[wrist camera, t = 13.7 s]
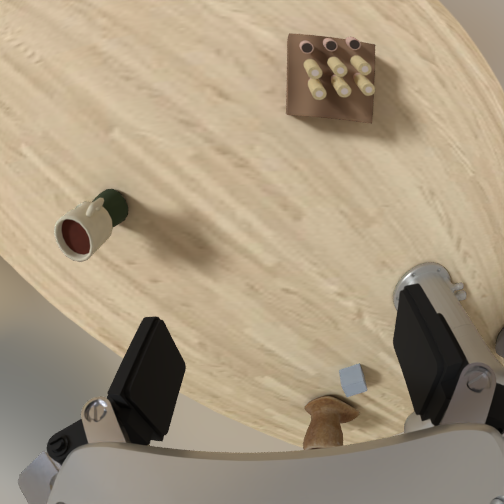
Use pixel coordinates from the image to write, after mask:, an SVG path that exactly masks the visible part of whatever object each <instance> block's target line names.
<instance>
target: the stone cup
mask: <svg viewBox="0 0 504 504" xmlns="http://www.w3.org/2000/svg"><path fill="white" fill-rule="evenodd" d="M305 410H306V411H307V412H308V413H309V414H310V415H311V422H310V425H309V427H308V429H307V432H306V435H305V438H304V442H303V448H304V450H311V449H321V448H329V447H337V446H343V433H342V430H341V426H340V423H346V422H349V421H351V420H353V419H355V418H356V417H357V416H358V415H359V413H360V412H359V411H358V410H356V409H355V408H353V407H351V406H350V405H348V404H346V403H345V402H343V401H341V400H339V399H337V398H335V397H331V396H323V397H320V398H317V399H314V400H312V401H311V402H309V403H308V404H307V405H306V406H305Z"/></svg>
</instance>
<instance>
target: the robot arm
mask: <svg viewBox="0 0 504 504" xmlns="http://www.w3.org/2000/svg"><path fill="white" fill-rule="evenodd" d="M461 289H463V283H462V282H460V283H456V284H453V283H451V282H450V276H449V274H448V272H447V270H446V269H445V268H444V267H443V266H442V265H440V264H438V263H434V262H428V263H423V264H420V265H417V266H415V267H414V268H412V269H410V270H409V271H408V272H407V273H406V274H405V275H404V276H403V277H402V278H401V279H400V280H399V282H398V284H397V285H396V287H395V290H394V294H393V302H394V306H395V308H396V310H397V318H396V325H395V331H394V338H393V345H394V349H395V352H396V355H397V357H398V360H399V363H400V366H401V369H402V372H403V375H404V378H405V381H406V384H407V388H408V391H409V394H410V397H411V401H412V404H413V407H414V412H413V413H411V414H410V415H409V416H408V418H407V419H406V421H405V424H404V434H401V435H397V436H392V437H387V438H382V439H377V440H372V441H367V442H362V443H356V444H350V445H344V446H337V447H329V448H321V449H311V450H301V451H288V452H267V453H265V452H264V453H228V452H205V451H190V450H179V449H170V448H162V447H153V446H150V445H149V444H150V440H155V441H163V437H164V435H166V434H167V433H168V430H169V426H170V423H171V419H172V415H173V412H174V408H175V404H176V401H177V397H178V394H179V390H180V387H181V383H182V380H183V376H184V373H185V369H186V366H185V362H184V360H183V358H182V356H181V354H180V352H179V350H178V349H177V347H176V345H175V343H174V341H173V339H172V337H171V335H170V333H169V331H168V329H167V327H166V325H165V323H164V321H163V320H160V318H159V317H145V318H144V319H143V320H142V322H141V324H140V326H139V328H138V330H137V332H136V334H135V336H134V338H133V340H132V342H131V344H130V346H129V348H128V350H127V352H126V354H125V356H124V358H123V361H122V363H121V365H120V367H119V369H118V371H117V373H116V375H115V378H114V380H113V382H112V384H111V386H110V389H109V391H108V396H107V398H105V397H101V396H100V397H95V398H92V399H90V400H89V401H88V402H87V403H86V404H85V405H84V407H83V408H82V412H81V418H82V419H80V420H79V421H77V422H75V423H73V424H72V425H70V426H68V427H66V428H65V429H63V430H61V431H59V432H58V433H56V434H55V435H53V436H52V437H51V438H50V439H49V442H48V444H47V452H45V451H43V452H42V453H41V454H40V455H39V456H38V457H37V458H36V459H35V460H34V461H33V462H32V463H31V464H30V465H29V466H27V468H25V469H24V470H23V471H22V472H21V474H20V476H19V479H18V484H19V487H20V489H21V491H22V493H23V495H24V496H25V498H26V500H27V502H28V503H29V504H504V367H503V366H502V365H501V364H500V362H499V361H498V360H497V359H496V357H495V356H494V355H493V353H492V352H491V351H490V349H489V347H488V346H487V344H486V343H485V341H484V340H483V338H482V337H481V335H480V333H479V332H478V330H477V328H476V327H475V325H474V324H473V322H472V321H471V319H470V317H469V316H468V314H467V313H466V311H465V310H464V308H463V307H462V305H461V304H460V302H459V301H461V300H465V299H466V292H465V291H464V290H462V291H458V292H456V293H454V291H455V290H461Z"/></svg>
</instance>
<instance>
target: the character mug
mask: <svg viewBox="0 0 504 504" xmlns="http://www.w3.org/2000/svg"><path fill="white" fill-rule="evenodd" d="M127 215H128V205H127V203H126V200H125V199H124V197H123V196H122V195H121V194H120V193H119V192H117V191H116V190H114V189H106V190H105V191H103V192H102V193H100V194H99V195H98V196H97V197H96V198H95V199H94V200H93V201H92V202H89V201H84V202H82V203H80V204H78V205H77V206H76V207H75V208H74V209H72V210H70V211H68V212H67V213H66V214H65V215H63V216H62V217H61V218H60V219H59V220H58V221H57V222H56V224H55V228H54V235H55V239H56V242H57V244H58V246H59V248H60V250H61V251H62V252H63V253H64V254H65V255H66V256H67V257H68V258H70V259H72V260H73V261H78V262H82V261H86V260H88V259H89V258H90V257H91V256H92V255H93V254H94V253H95V252H96V251H97V250H98V249H99V248H100V246H101V245H102V244H103V243H104V242H105V241H106V240H107V239H108V238H109V237H110V236H111V233H112V229H113V227H115V226H116V225H118V224H120V223H121V222H122V221H124V220H125V218H126V216H127Z"/></svg>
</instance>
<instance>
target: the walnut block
mask: <svg viewBox="0 0 504 504" xmlns="http://www.w3.org/2000/svg"><path fill="white" fill-rule="evenodd" d="M325 38H330V39H333V40H334V41H335V42H336V43H337V49H336V50H335V51H328V50H327V49H326V48H325V47H324V45H323V40H324V39H325ZM305 40H306V41H309V42H310V43H311V44H312V45H313V48H314V49H313V51H312V52H311V53H308V54H307V53H304V52H302V50H301V49H300V47H299V45H300V43H301V42H302V41H305ZM360 44H361V46H360V48H359V49H357V50H353V49H351V48H350V47H349V46H348V45H347V44H346V39H339V38H332V37H323V36H314V35H303V34H289V36H288V41H287V99H286V114H287V115H299V116H312V117H324V118H334V119H343V120H351V121H359V122H366V123H372V115H373V99H374V94H373V95H370V96H367V95H364V94H363V92H362V91H361V90H360V89H359V87H358V86H357V85H356V83H355V82H354V78H353V76H354V74H355V73H359V72H358V71H357V70H356V69H355V68H354V66H353V65H352V64H351V62H350V60H351V58H352V57H353V56H355V55H358V56H360V57H361V58H363V59H364V60H365V61H366V62H367V63H368V64H369V65H370V66H371V68H372V70H371V73H370V74H368V75H364V76H365V77H366V78H367V79H368V80H369V81H370V82H371V83H372V84H373V85H374V76H375V45H374V44H369V43H364V42H360ZM330 57H337V58H338V59H339V60H340V61H341V62H342V63H343V64H344V65H345V66H346V67H347V70H348V71H347V74H346V75H345V76H343V77H342V78H343V79H344V80H345V81H346V83H347V84H348V85H349V87H350V88H351V94H350V95H349V96H348V97H341V96H339V95H338V93H337V91H336V90H335V88H334V87H333V85H332V83H331V77H332V75H334V73H333V71H332V70H331V68H330V67H329V66H328V64H327V61H328V59H329V58H330ZM307 59H313V60H315V61H316V63H317V64H318V65H319V67H320V68H321V70H322V76H321V77H320V78H319V80H320V82H321V83H322V85H323V87H324V88H325V90H326V93H327V94H326V97H325V98H324V99H322V100H316V99H314V98H313V96H312V94H311V91H310V89H309V87H308V81H309V79H310V77H309V76H308V74H307V72H306V70H305V68H304V62H305V61H306V60H307Z"/></svg>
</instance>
